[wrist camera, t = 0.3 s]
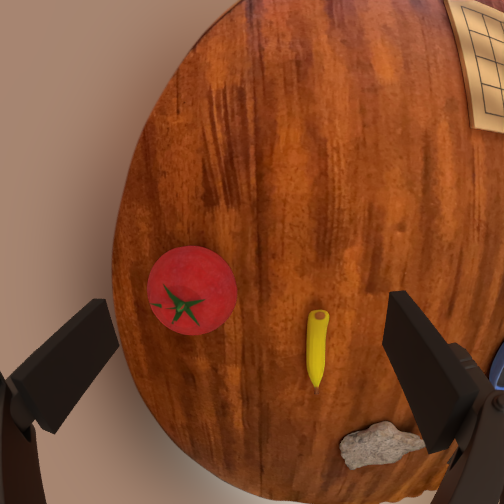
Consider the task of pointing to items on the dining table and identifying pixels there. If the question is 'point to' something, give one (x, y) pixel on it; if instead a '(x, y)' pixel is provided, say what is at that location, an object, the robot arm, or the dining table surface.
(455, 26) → the board
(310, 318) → the fruit
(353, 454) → the rock
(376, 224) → the dining table surface
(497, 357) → the bowl
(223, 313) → the tomato
